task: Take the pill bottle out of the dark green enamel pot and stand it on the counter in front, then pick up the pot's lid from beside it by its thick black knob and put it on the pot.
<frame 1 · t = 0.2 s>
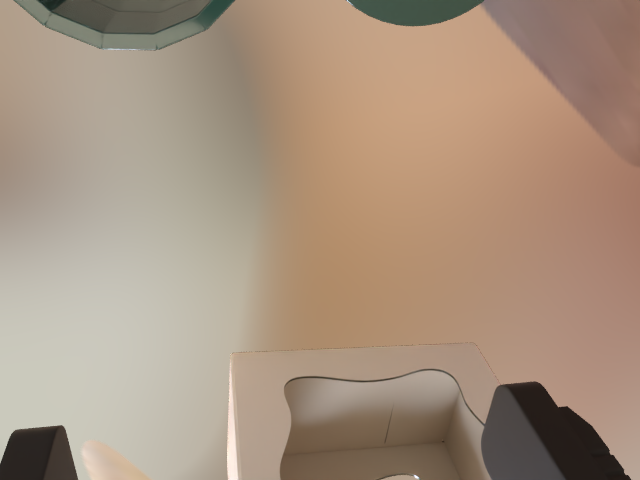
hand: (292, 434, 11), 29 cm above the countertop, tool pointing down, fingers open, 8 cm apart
gable box: (348, 399, 52), on the countertop
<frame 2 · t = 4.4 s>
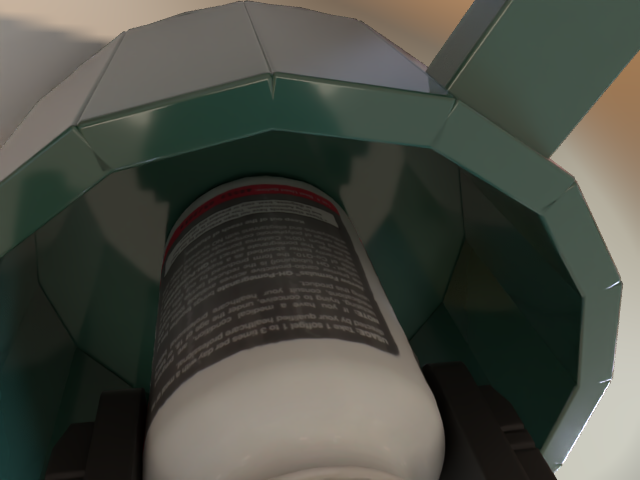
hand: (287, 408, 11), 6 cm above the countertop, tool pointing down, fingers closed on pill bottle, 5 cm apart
pill bottle: (262, 255, 16), resting on pot, touching gripper
pot: (261, 252, 16), on the countertop
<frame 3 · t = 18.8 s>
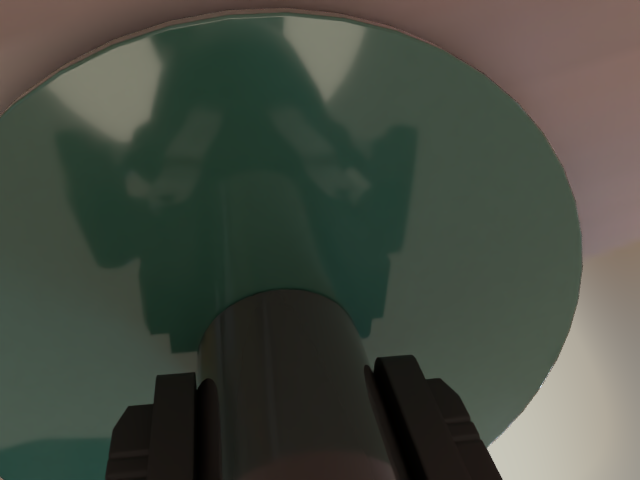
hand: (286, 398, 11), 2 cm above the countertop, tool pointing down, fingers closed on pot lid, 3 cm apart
pot lid: (277, 339, 13), point 1 cm above the countertop, touching gripper
when the fingers open (10 cm above the countertop, at t = 26.5 s): pot lid moves 1 cm, resting on pot.
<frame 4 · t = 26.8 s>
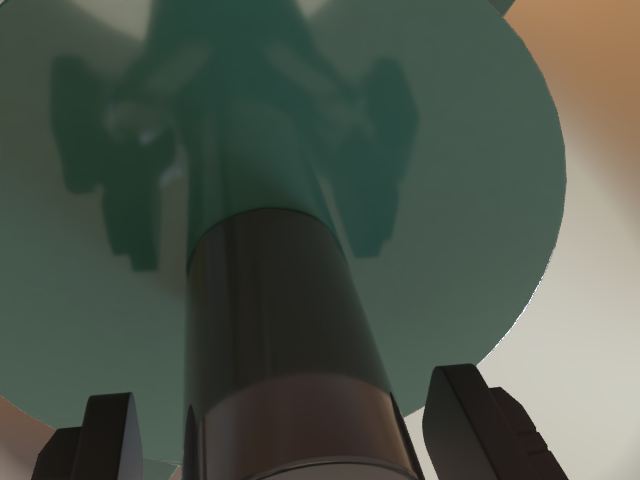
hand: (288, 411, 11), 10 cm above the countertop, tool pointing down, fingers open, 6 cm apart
pot: (249, 187, 20), on the countertop
pot lid: (265, 261, 13), point 7 cm above the countertop, touching pot
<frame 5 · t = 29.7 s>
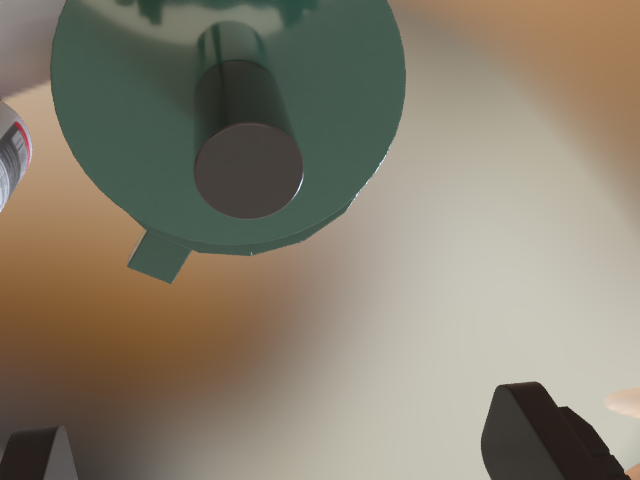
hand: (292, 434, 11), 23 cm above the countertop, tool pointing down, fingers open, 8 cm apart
pot: (233, 85, 30), on the countertop
pot lid: (237, 99, 24), point 7 cm above the countertop, touching pot
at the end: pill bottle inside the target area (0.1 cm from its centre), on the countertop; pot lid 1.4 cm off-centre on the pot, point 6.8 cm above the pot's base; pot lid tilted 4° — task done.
